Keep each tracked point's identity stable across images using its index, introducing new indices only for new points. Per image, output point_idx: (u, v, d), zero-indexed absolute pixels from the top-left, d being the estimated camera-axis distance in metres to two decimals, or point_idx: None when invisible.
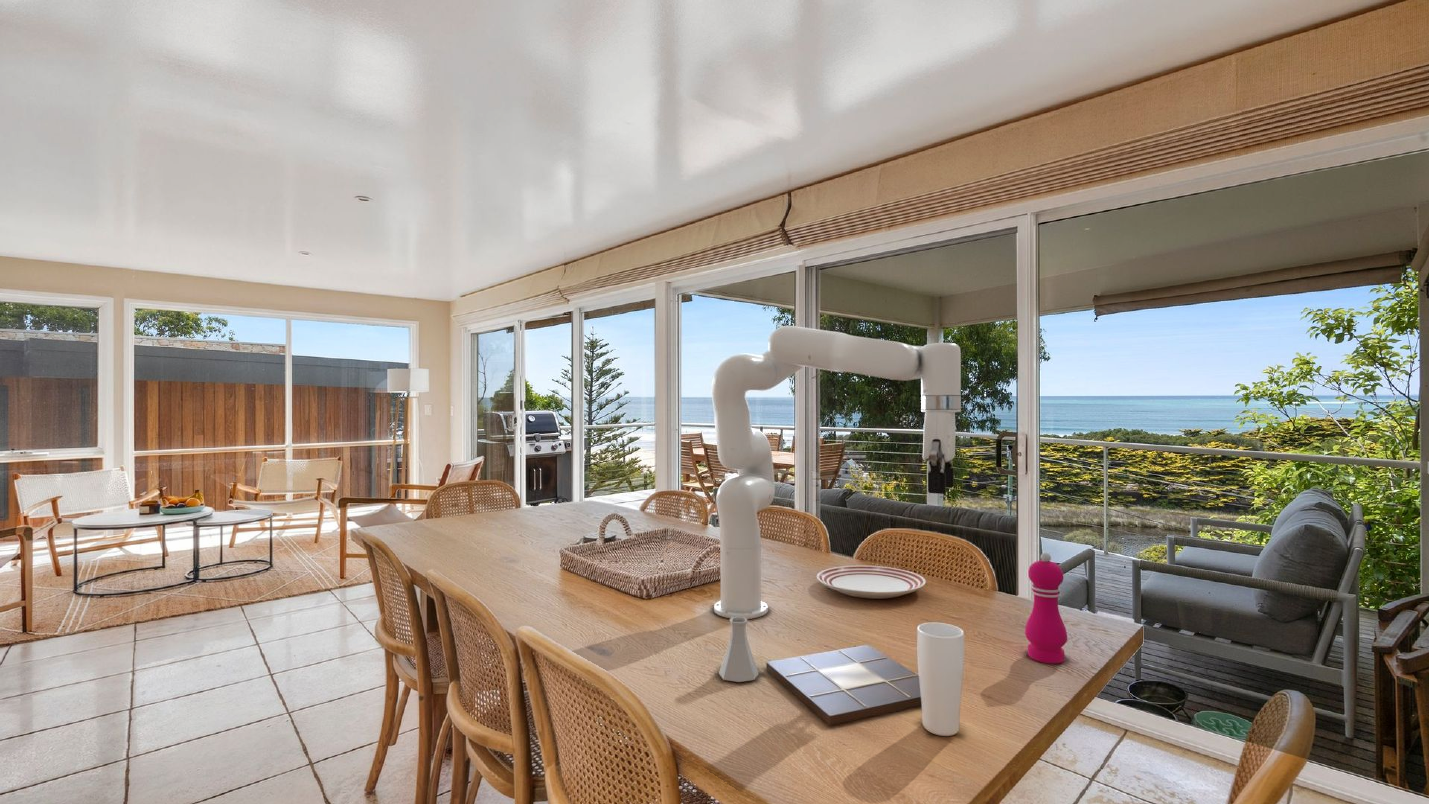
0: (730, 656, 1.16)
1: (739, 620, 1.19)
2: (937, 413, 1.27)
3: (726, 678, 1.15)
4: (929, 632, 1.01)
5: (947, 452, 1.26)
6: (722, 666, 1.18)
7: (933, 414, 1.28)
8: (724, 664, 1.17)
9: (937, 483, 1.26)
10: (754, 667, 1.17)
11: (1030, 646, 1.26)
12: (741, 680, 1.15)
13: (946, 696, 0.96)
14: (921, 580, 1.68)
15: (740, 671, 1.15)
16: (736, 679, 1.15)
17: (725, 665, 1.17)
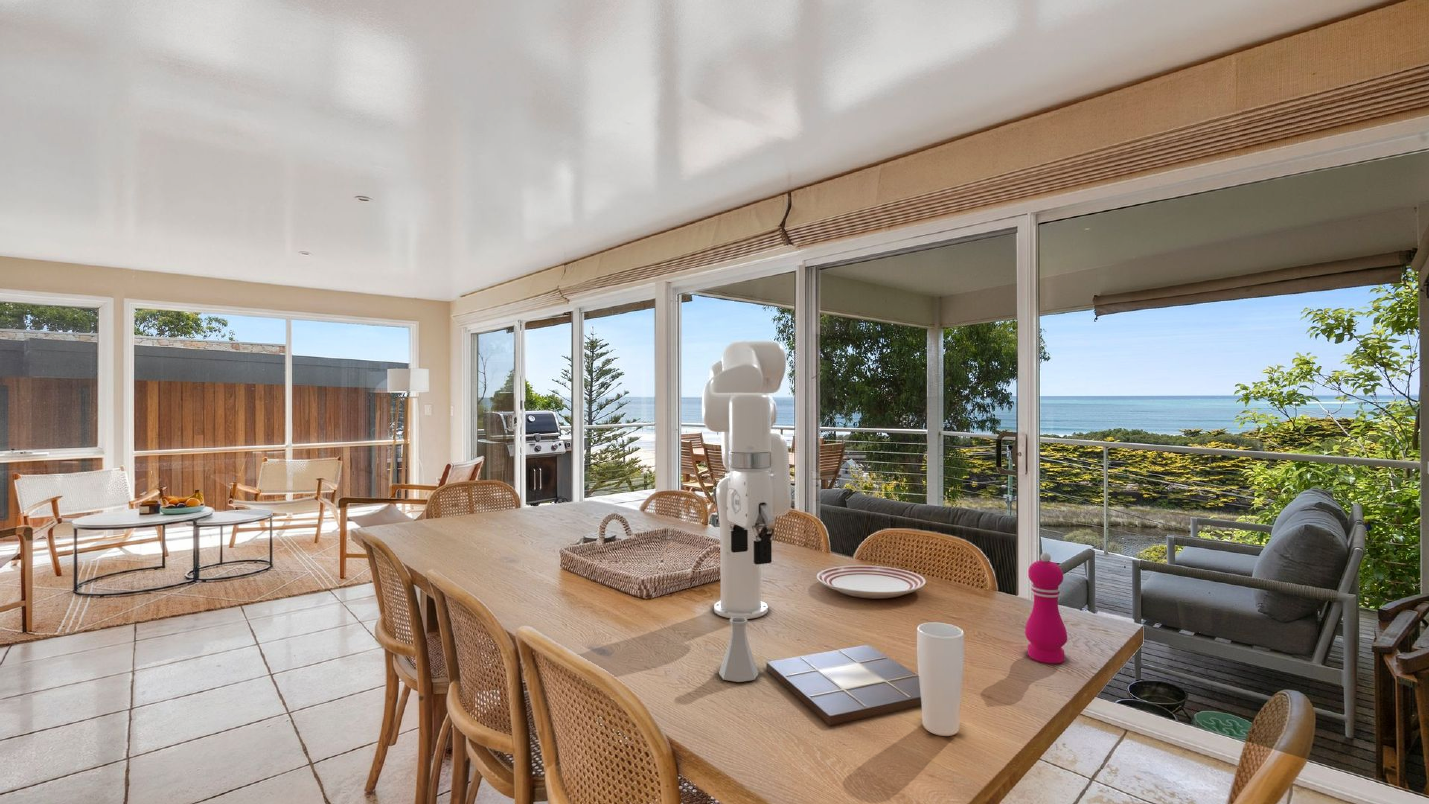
0: (730, 656, 1.16)
1: (739, 620, 1.19)
2: (761, 473, 1.13)
3: (726, 678, 1.15)
4: (929, 632, 1.01)
5: None
6: (722, 666, 1.18)
7: (757, 474, 1.13)
8: (724, 664, 1.17)
9: (766, 552, 1.12)
10: (754, 667, 1.17)
11: (1030, 646, 1.26)
12: (741, 680, 1.15)
13: (946, 696, 0.96)
14: (921, 580, 1.68)
15: (740, 671, 1.15)
16: (736, 679, 1.15)
17: (725, 665, 1.17)
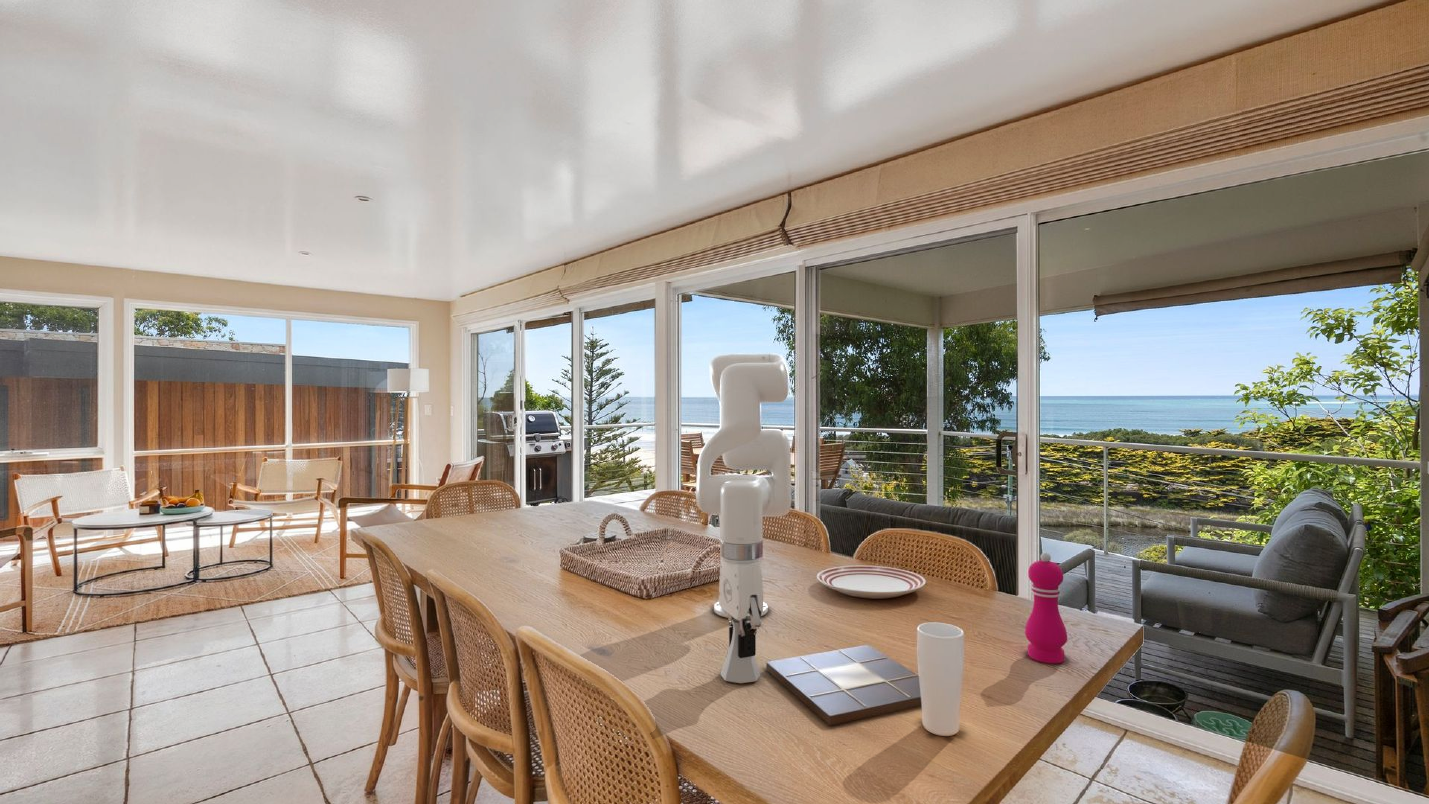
0: (732, 657, 1.16)
1: None
2: (752, 565, 1.13)
3: (728, 679, 1.15)
4: (929, 632, 1.01)
5: (762, 607, 1.14)
6: (724, 667, 1.17)
7: (748, 566, 1.13)
8: (726, 665, 1.16)
9: (750, 646, 1.15)
10: (756, 668, 1.16)
11: (1030, 646, 1.26)
12: (743, 681, 1.14)
13: (946, 696, 0.96)
14: (921, 580, 1.68)
15: (742, 672, 1.14)
16: (738, 680, 1.14)
17: (727, 666, 1.16)
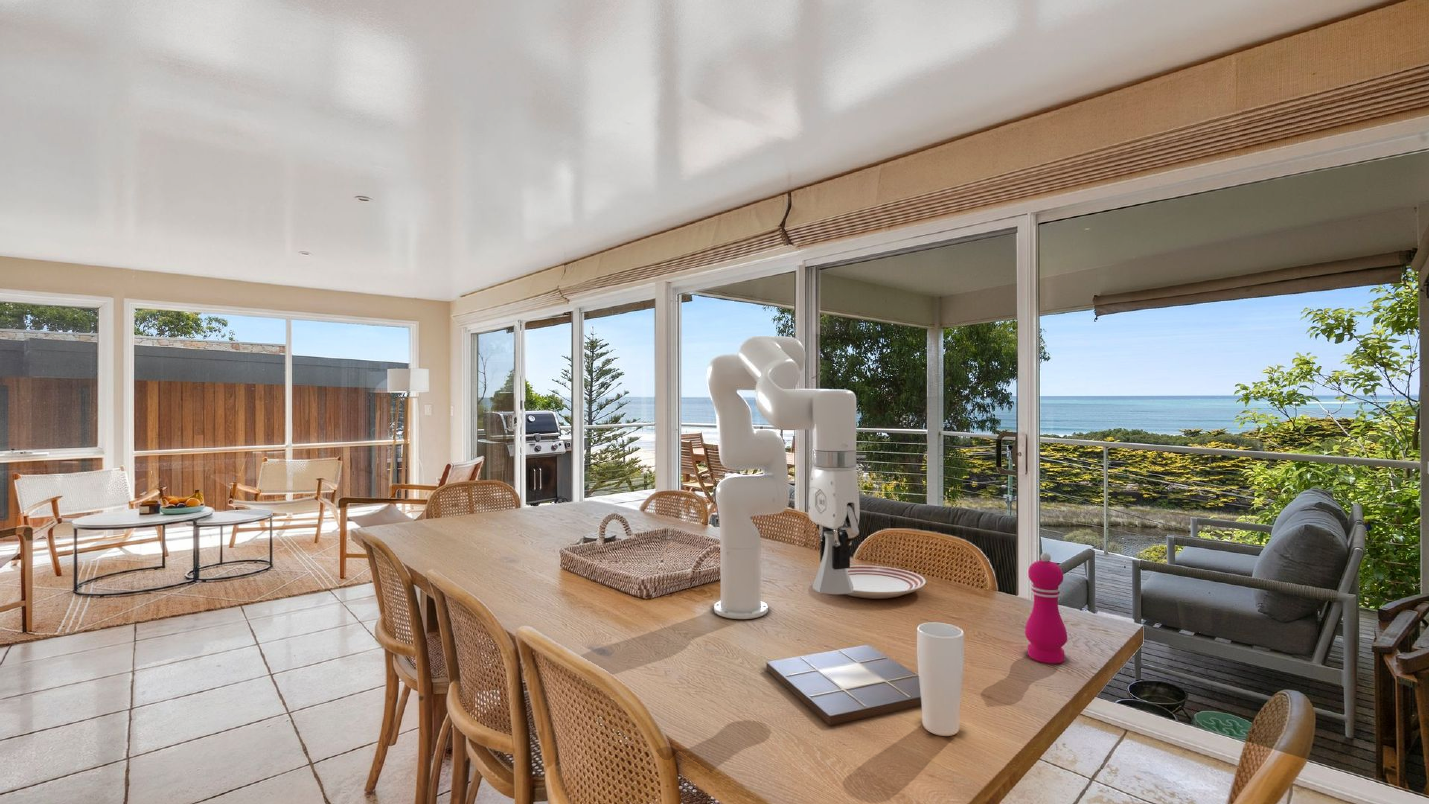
0: (825, 569, 1.12)
1: None
2: (849, 472, 1.10)
3: (822, 591, 1.11)
4: (929, 632, 1.01)
5: None
6: (816, 580, 1.14)
7: (845, 473, 1.10)
8: (819, 578, 1.13)
9: (845, 557, 1.12)
10: (850, 581, 1.13)
11: (1030, 646, 1.26)
12: (838, 593, 1.11)
13: (946, 696, 0.96)
14: (921, 580, 1.68)
15: (837, 584, 1.11)
16: (833, 592, 1.11)
17: (820, 579, 1.13)
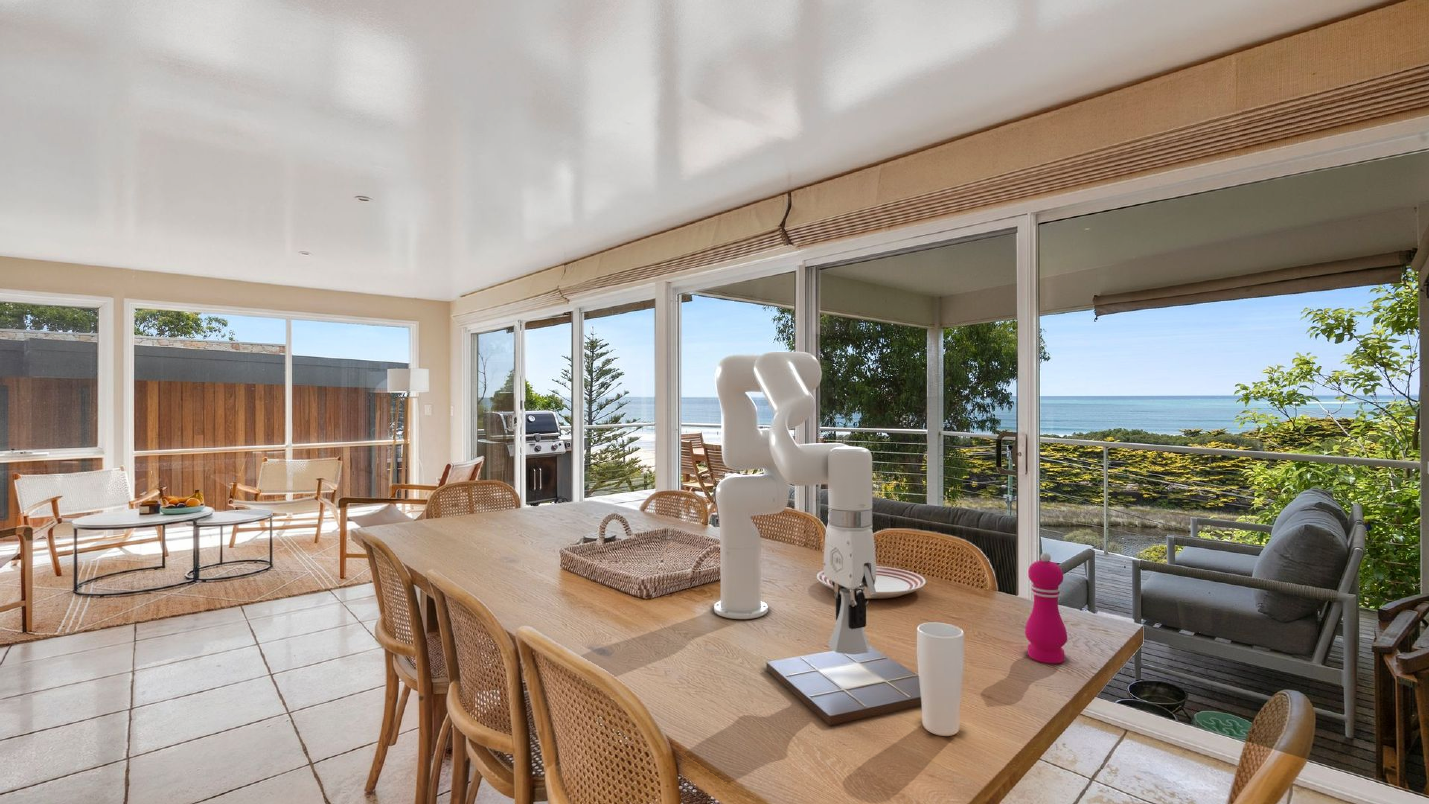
0: (841, 628, 1.12)
1: (848, 592, 1.15)
2: (865, 532, 1.10)
3: (838, 650, 1.11)
4: (929, 632, 1.01)
5: None
6: (832, 639, 1.13)
7: (862, 533, 1.09)
8: (835, 636, 1.13)
9: (861, 617, 1.11)
10: (866, 640, 1.13)
11: (1030, 646, 1.26)
12: (855, 653, 1.10)
13: (946, 696, 0.96)
14: (921, 580, 1.68)
15: (853, 644, 1.11)
16: (850, 652, 1.10)
17: (837, 638, 1.12)
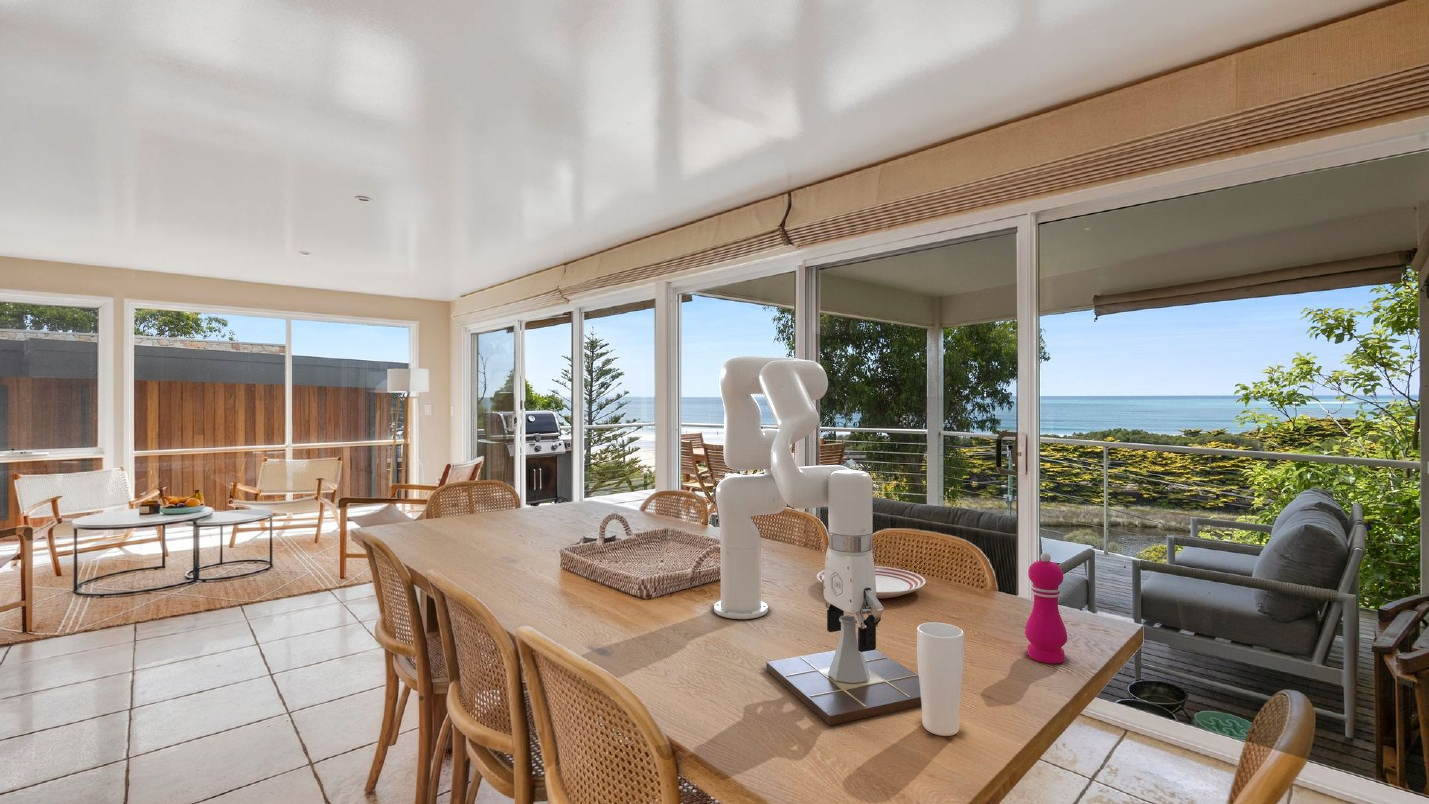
0: (841, 656, 1.12)
1: (848, 619, 1.15)
2: (865, 557, 1.10)
3: (838, 679, 1.11)
4: (929, 632, 1.01)
5: None
6: (832, 667, 1.13)
7: (862, 558, 1.09)
8: (835, 664, 1.13)
9: (871, 640, 1.08)
10: (866, 668, 1.13)
11: (1030, 646, 1.26)
12: (855, 681, 1.10)
13: (946, 696, 0.96)
14: (921, 580, 1.68)
15: (853, 672, 1.11)
16: (850, 680, 1.10)
17: (836, 666, 1.12)
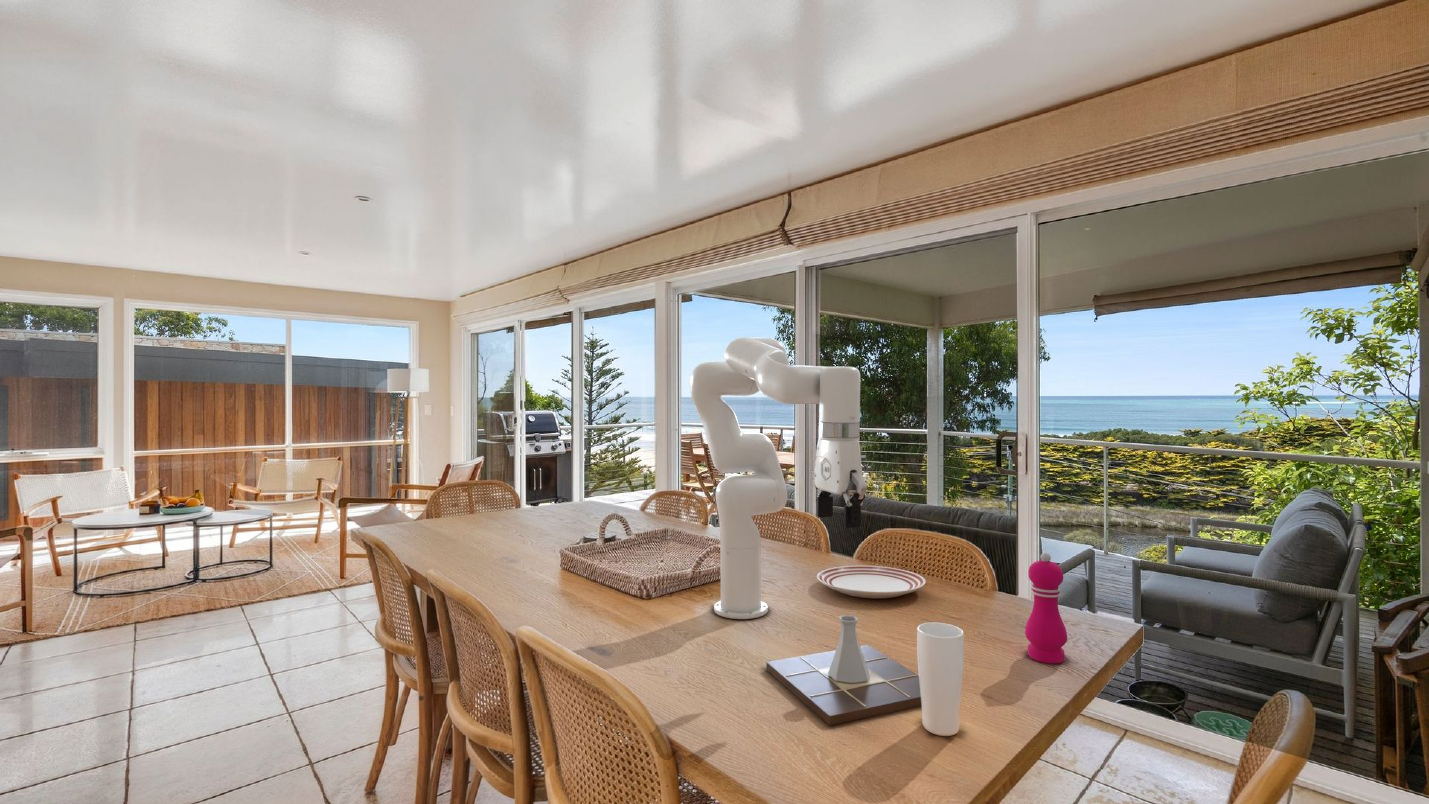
0: (841, 656, 1.12)
1: (848, 619, 1.15)
2: (852, 442, 1.20)
3: (838, 679, 1.11)
4: (929, 632, 1.01)
5: None
6: (832, 667, 1.13)
7: (849, 443, 1.19)
8: (835, 664, 1.13)
9: (856, 517, 1.19)
10: (866, 668, 1.13)
11: (1030, 646, 1.26)
12: (855, 681, 1.10)
13: (946, 696, 0.96)
14: (921, 580, 1.68)
15: (853, 672, 1.11)
16: (850, 680, 1.10)
17: (836, 666, 1.12)
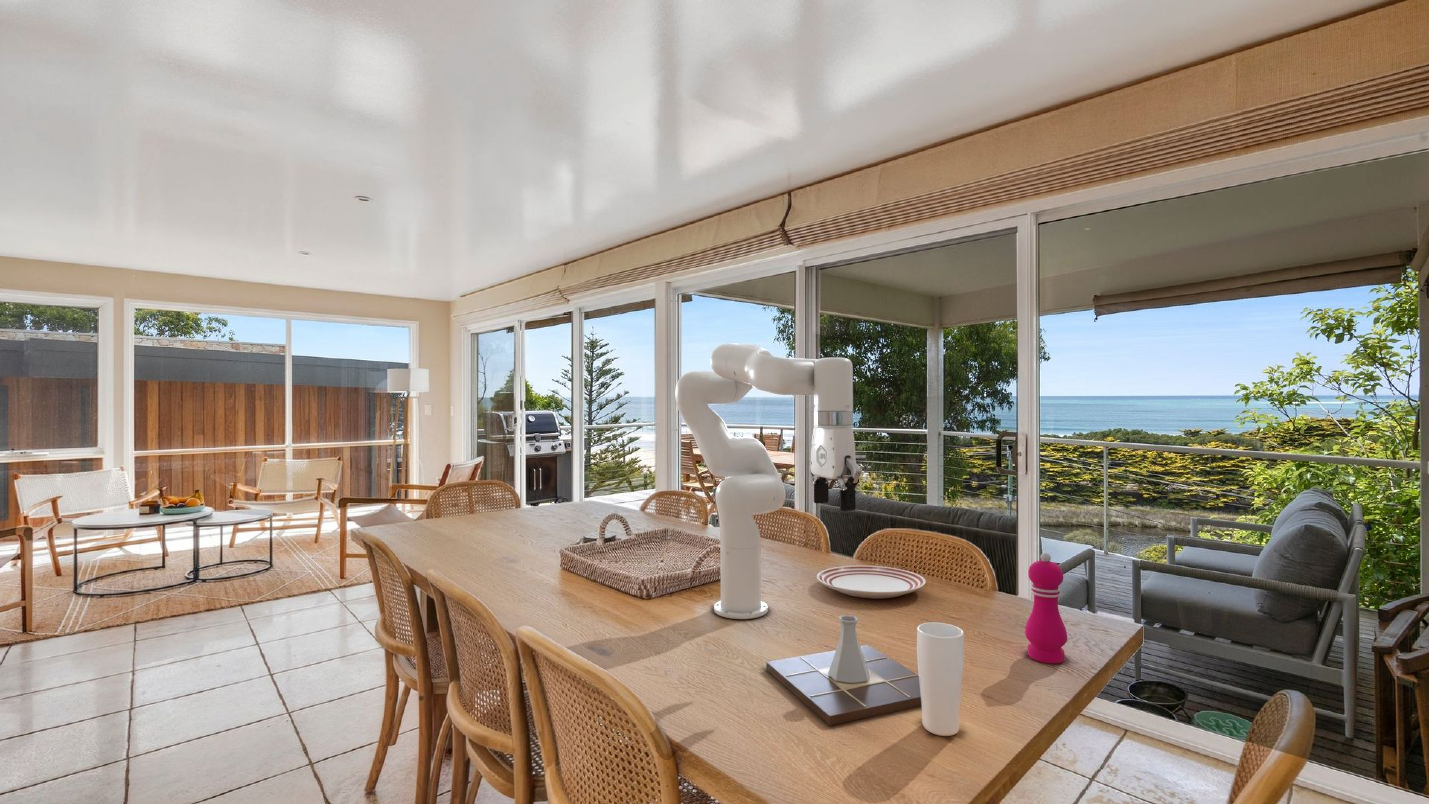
0: (841, 656, 1.12)
1: (848, 619, 1.15)
2: (846, 429, 1.26)
3: (838, 679, 1.11)
4: (929, 632, 1.01)
5: None
6: (832, 667, 1.13)
7: (843, 430, 1.25)
8: (835, 664, 1.13)
9: (851, 500, 1.24)
10: (866, 668, 1.13)
11: (1030, 646, 1.26)
12: (855, 681, 1.10)
13: (946, 696, 0.96)
14: (921, 580, 1.68)
15: (853, 672, 1.11)
16: (850, 680, 1.10)
17: (836, 666, 1.12)
